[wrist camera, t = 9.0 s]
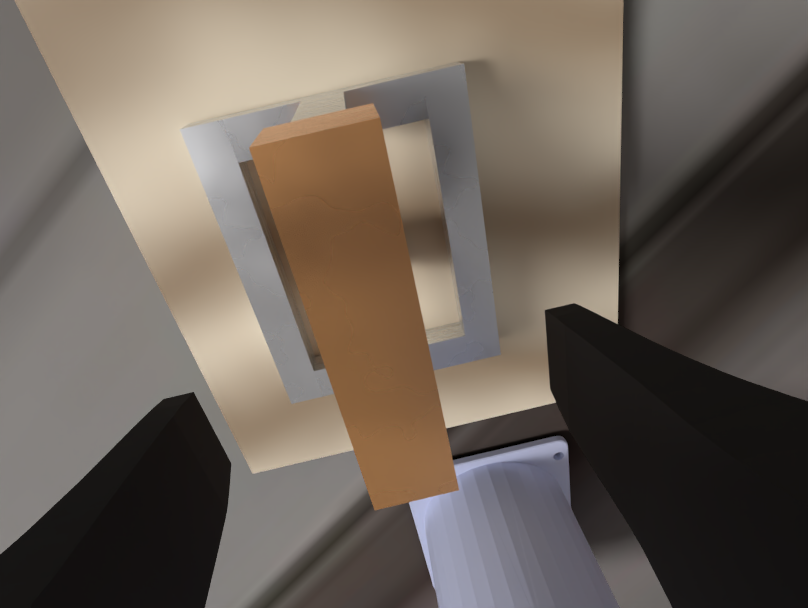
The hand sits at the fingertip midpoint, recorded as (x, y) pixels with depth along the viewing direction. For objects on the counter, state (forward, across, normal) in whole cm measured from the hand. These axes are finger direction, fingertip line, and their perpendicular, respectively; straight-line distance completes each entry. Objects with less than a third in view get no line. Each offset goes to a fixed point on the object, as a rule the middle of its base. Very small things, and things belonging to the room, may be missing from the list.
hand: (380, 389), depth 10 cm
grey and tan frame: (+8, 0, 0) cm, 8 cm away
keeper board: (+9, -1, 0) cm, 9 cm away
